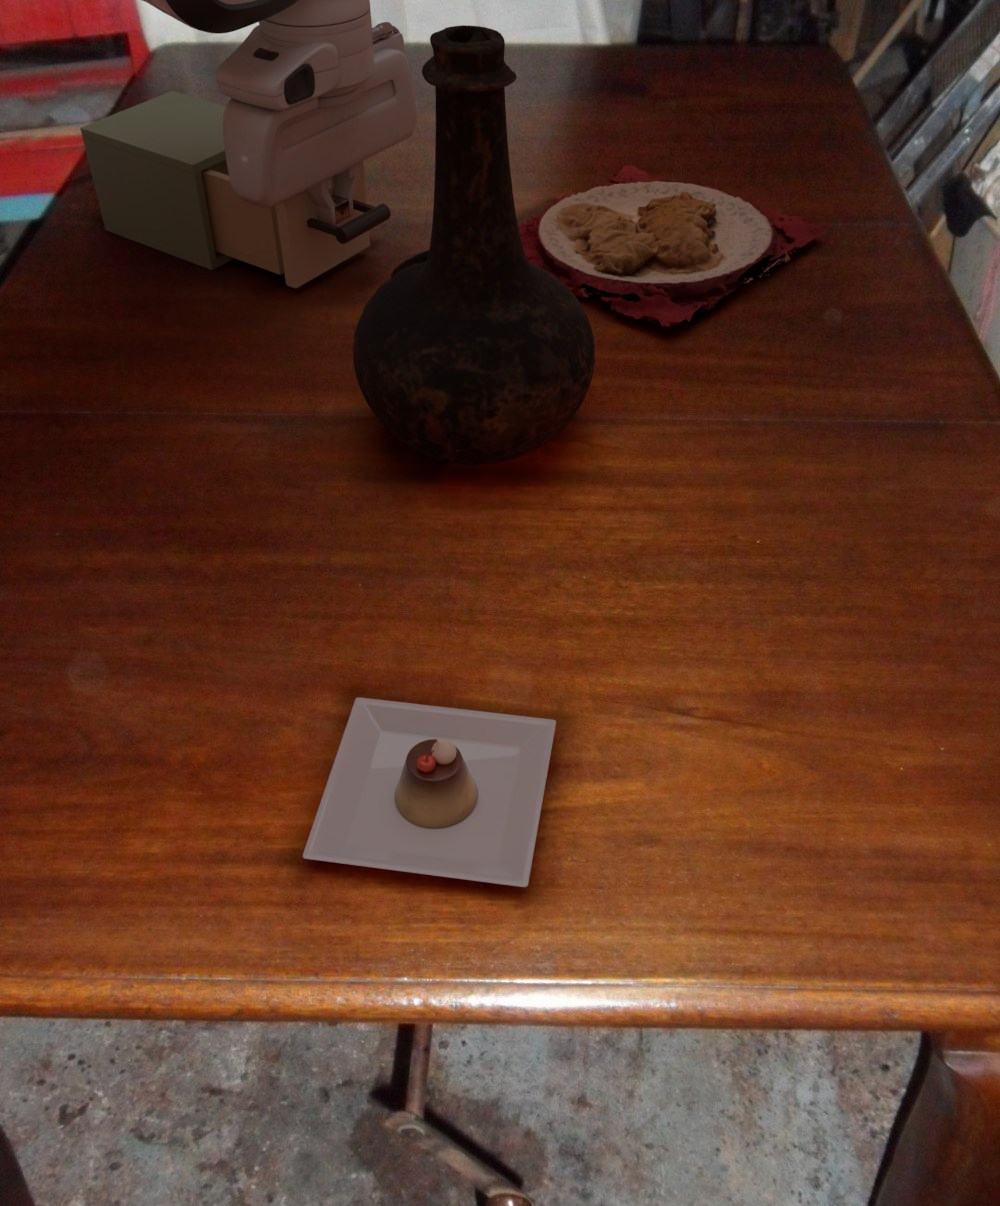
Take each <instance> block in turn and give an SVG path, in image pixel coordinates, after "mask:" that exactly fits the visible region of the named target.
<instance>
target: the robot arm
mask: <svg viewBox="0 0 1000 1206" xmlns="http://www.w3.org/2000/svg"><path fill="white" fill-rule="evenodd" d="M141 1H142V2H145V3H147V4H148V5H150V6H152V7H153V8H155V9H157V10H159V11H160V12H162V13H164V14H165V15H168V16H169V17H171V18H173V19H174V20H176V21H178V22H180V23H181V24H184V25H186V26H187V27H189V28H190V29H191V28H192V29H194V30H197V31H201V32H204V33H208V34H209V33H210V34H218V35H219V34H221V35H222V34H229V33H233V32H235V31H239V30H242V29H244V28H246V27H249V26H252V25H254V24H257V23H258V25H256V26H255V27H254V28H253V29H252V30H251V31H250V32H249V34H248V35H247V37H245V39H244V40H243V42H241V44H239V46H238V47H236V49H235V50H234V51H233V52H232V53H231V54H230V55H229V56H228V57H226V58H225V60H223V61H222V63H220V65H219V66H218V68H217V69H216V75H215V76H216V85H217V89H218V90H219V93H220V94H221V95H223V96H225V97H228V98H230V99H229V100H228V101H227V103H226V105H225V106H226V107H225V110H224V114H223V137H224V146H225V154H226V161H227V168H228V173H229V179H230V183H231V186H232V189H233V191H234V192H235V193H236V194H237V195H238V196H239V197H240V198H241V199H242V200H243V201H245V202H248V203H251V204H254V205H257V206H260V207H263V208H271V207H274V206H275V205H277V204H279V203H281V202H283V201H285V200H287V199H289V198H291V197H293V196H295V195H297V194H299V193H301V192H303V191H305V190H306V191H307V193H308V194H309V196H310V197H311V199H312V201H313V202H314V204H316V212H317V220H319V221H322V222H325V223H328V224H331V225H334V226H335V225H337V224H338V223H340V222H342V221H344V220H345V219H347V218H349V217H351V216H353V214H354V209H353V198H352V197H353V196H354V193H355V190H356V186H357V183H358V179H359V176H360V166H359V163H360V162H362V161H363V162H364V161H366V160H368V159H370V158H371V157H373V156H376V155H378V154H379V153H382V152H383V151H385V150H387V149H390V148H391V147H393V146H395V145H398V144H400V143H401V142H403V141H405V140H407V139H409V138H411V137H412V136H413V134H414V131H415V128H416V124H417V121H418V119H417V118H418V117H417V115H418V114H417V105H416V98H415V97H416V96H415V90H414V84H413V83H414V82H413V78H412V71H411V67H410V64H409V61H408V57H407V56H406V54H405V40H404V36H403V34H402V33H401V32H400V30H399V29H398V28H397V27H396V26H395V25H392V23H391V22H390V21H382V22H380V23H378V24H376V25H375V26H374V27H373V25H372V16H371V15H372V12H371V0H141ZM334 175H337V177H336V181H335V185H334V190H333V195H331V196H330V194H329V192H328V190H329V189H331V188H332V181H331V177H332V176H334ZM327 189H328V190H327Z"/></svg>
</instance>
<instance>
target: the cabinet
mask: <svg viewBox="0 0 1000 1206" xmlns="http://www.w3.org/2000/svg"><path fill="white" fill-rule="evenodd" d="M225 107H226V105H222V104H219V103H216V102H212V101H209V100H205V99H201V98H198V97H195V96H191V95H189V94H185V93H181V92H178V91H175V90H171V91H168V92H165V93H164V94H161V95H158V96H156V97H154V98H151V99H149V100H146V101H144V102H141V103H139V104H135V105H133V106H131V107H128V108H126V109H124V110H121V111H118V112H116V113H114V114H111V115H109V116H106V117H104V118H101V119H99V120H96V121H94V122H92V123H88V124H86V125H84V126H82V127H80V133H81V137H82V142H83V145H84V150H85V153H86V154H85V155H86V158H87V162H88V165H89V169H90V175H91V178H92V181H93V185H94V186H93V187H94V190H95V195H96V198H97V203H98V206H99V207H98V208H99V211H100V214H101V215H100V216H101V218H102V223H103V226H104V230H105V231H106V232H109V233H111V234H114V235H117V236H119V237H122V238H124V239H127V240H130V241H132V242H136V243H138V244H141V245H143V246H146V247H149V248H151V249H153V250H157V251H160V252H162V253H165V254H167V255H170V256H172V257H175V258H177V259H180V260H183V261H185V262H188V263H191V264H194V265H197V266H199V267H202V268H204V269H207V270H209V271H214V270H216V269H218V268H220V267H222V266H224V265H226V264H227V263H229V262H231V261H232V260H236V259H235V258H233V257H230V256H227V255H224V254H222V253H219V252H216V251H215V248H214V242H213V237H212V231H211V226H210V220H209V215H208V209H207V203H206V198H205V192H204V187H203V181H202V176H201V171H202V170H204V169H206V168H208V167H210V166H213V165H215V164H217V163H219V162H221V161H223V160H226V154H225V146H224V137H223V114H224V110H225Z"/></svg>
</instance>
